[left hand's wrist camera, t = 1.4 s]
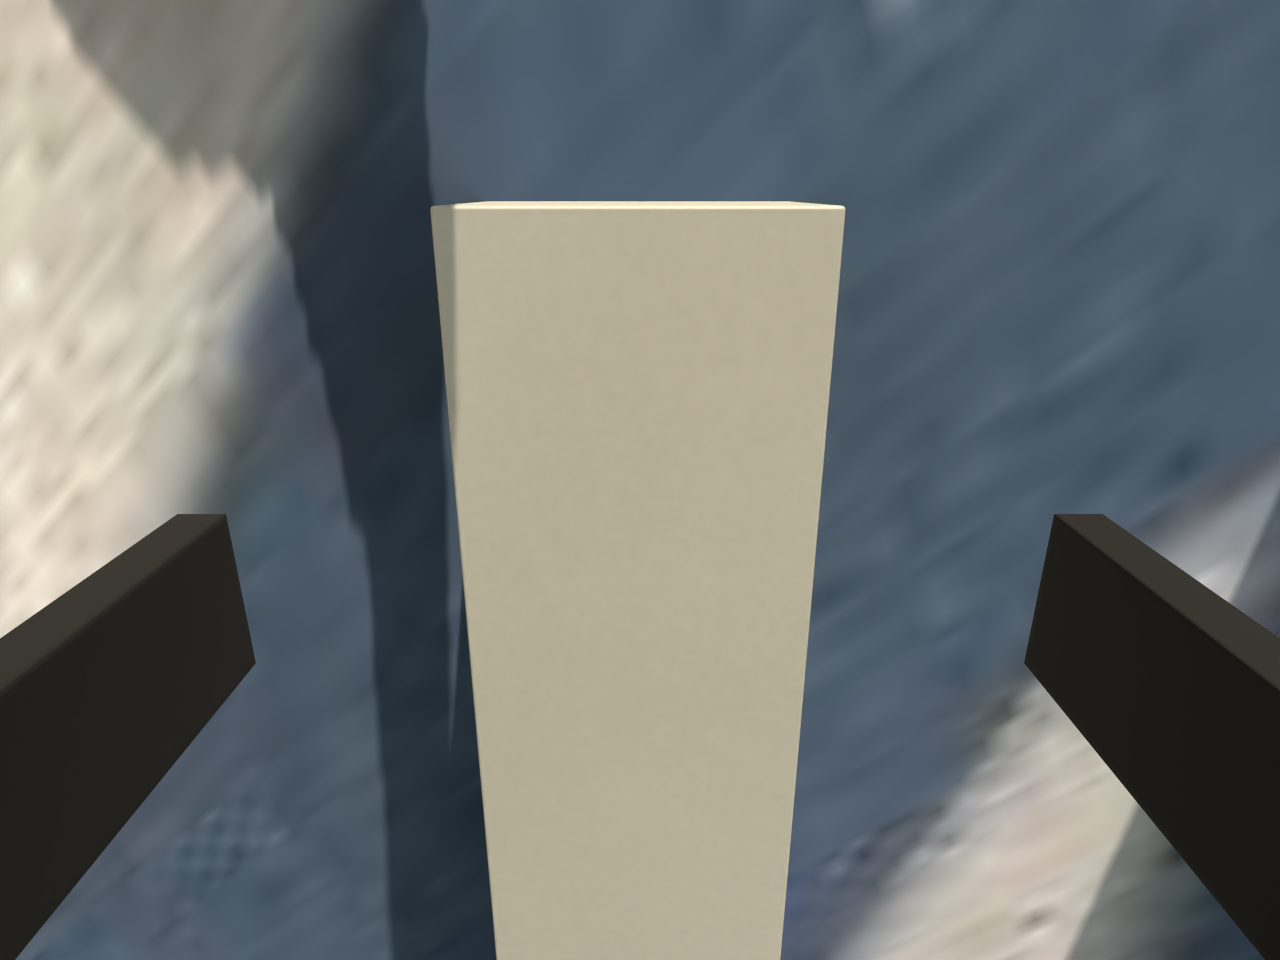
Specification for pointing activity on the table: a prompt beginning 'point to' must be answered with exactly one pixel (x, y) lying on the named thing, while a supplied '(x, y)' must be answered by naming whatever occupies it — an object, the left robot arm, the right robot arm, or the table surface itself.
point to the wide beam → (638, 557)
